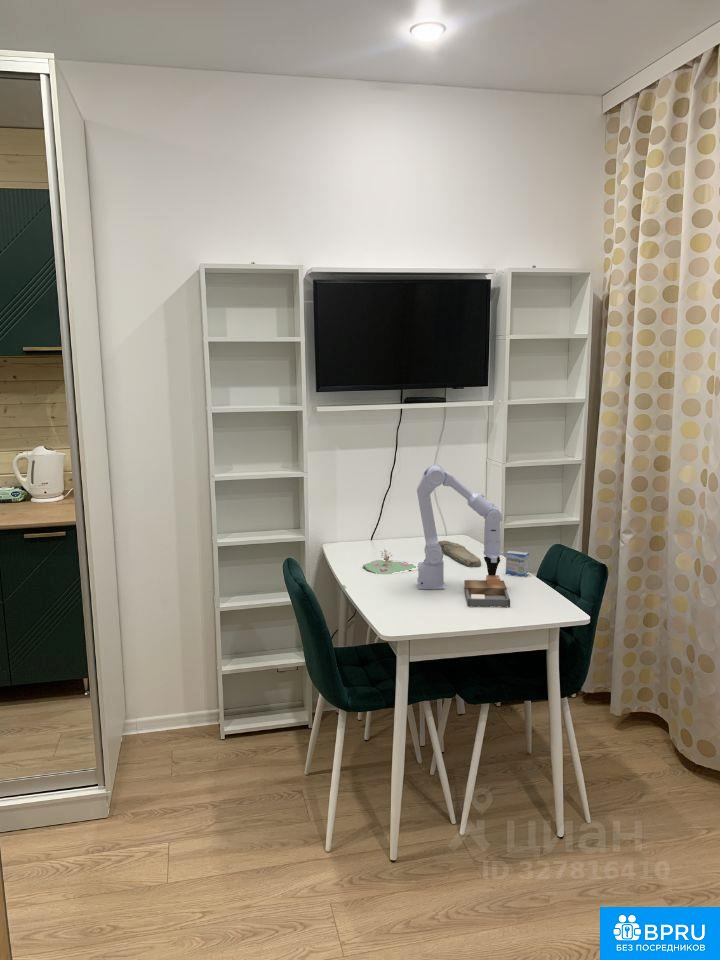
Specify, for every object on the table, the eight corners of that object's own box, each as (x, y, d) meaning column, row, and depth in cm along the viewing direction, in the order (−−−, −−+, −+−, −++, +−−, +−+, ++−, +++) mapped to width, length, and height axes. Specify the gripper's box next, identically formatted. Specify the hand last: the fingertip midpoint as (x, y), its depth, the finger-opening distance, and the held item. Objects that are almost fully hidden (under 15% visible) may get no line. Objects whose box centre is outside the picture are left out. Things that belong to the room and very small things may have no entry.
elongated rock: (464, 572, 294) (487, 571, 297) (465, 559, 293) (488, 558, 296) (430, 546, 327) (451, 545, 330) (431, 535, 326) (452, 534, 329)
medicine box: (505, 574, 285) (505, 552, 283) (508, 571, 289) (509, 549, 287) (525, 577, 281) (526, 554, 280) (528, 574, 285) (529, 552, 284)
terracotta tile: (487, 584, 263) (487, 578, 263) (486, 580, 268) (486, 575, 267) (500, 584, 263) (500, 579, 262) (498, 580, 267) (498, 575, 267)
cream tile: (471, 594, 255) (471, 599, 255) (471, 598, 250) (471, 604, 251) (484, 594, 254) (484, 600, 255) (484, 598, 250) (484, 604, 250)
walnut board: (465, 596, 260) (465, 587, 260) (464, 588, 269) (464, 580, 268) (506, 596, 259) (506, 588, 258) (503, 588, 268) (503, 580, 267)
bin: (467, 606, 249) (467, 599, 249) (465, 596, 260) (465, 589, 260) (510, 607, 248) (510, 599, 248) (506, 596, 259) (506, 589, 259)
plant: (418, 559, 310) (418, 538, 308) (432, 573, 290) (432, 550, 288) (359, 563, 305) (358, 541, 304) (369, 577, 285) (368, 554, 284)
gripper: (505, 545, 261) (505, 582, 263) (501, 535, 275) (500, 571, 277) (485, 545, 261) (485, 582, 263) (482, 535, 275) (481, 570, 278)
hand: (491, 576), depth 270 cm, fingers closed
